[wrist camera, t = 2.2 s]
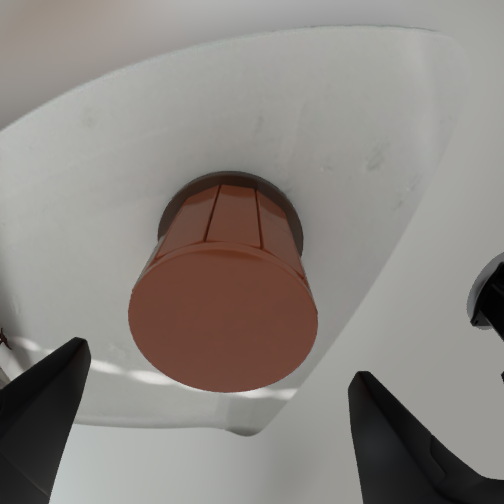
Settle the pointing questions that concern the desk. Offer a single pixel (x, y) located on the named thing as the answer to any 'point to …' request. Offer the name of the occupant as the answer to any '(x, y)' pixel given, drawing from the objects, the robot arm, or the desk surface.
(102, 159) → the desk surface
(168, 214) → the holder
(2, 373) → the bird
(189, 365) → the orange ribbed cylinder
